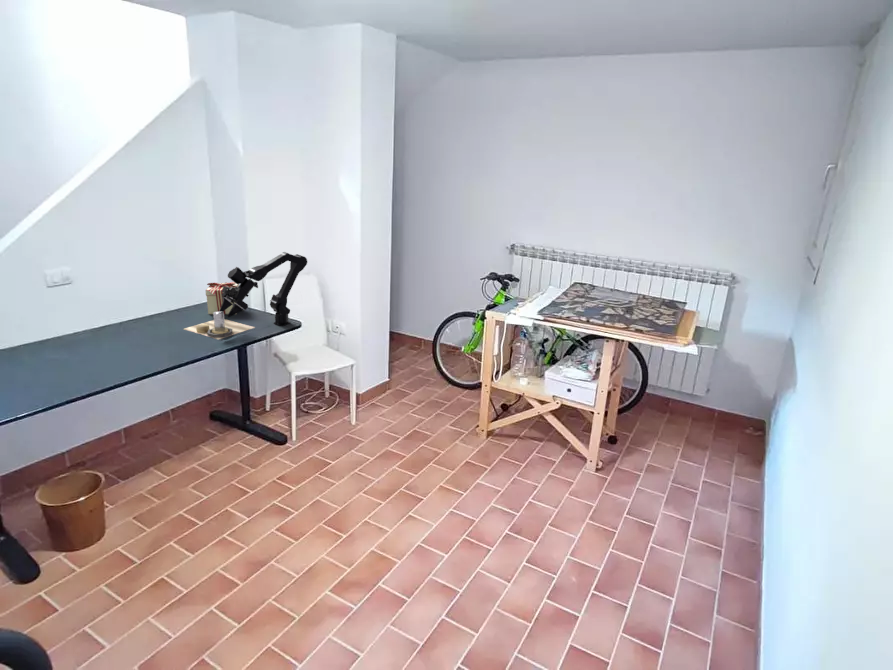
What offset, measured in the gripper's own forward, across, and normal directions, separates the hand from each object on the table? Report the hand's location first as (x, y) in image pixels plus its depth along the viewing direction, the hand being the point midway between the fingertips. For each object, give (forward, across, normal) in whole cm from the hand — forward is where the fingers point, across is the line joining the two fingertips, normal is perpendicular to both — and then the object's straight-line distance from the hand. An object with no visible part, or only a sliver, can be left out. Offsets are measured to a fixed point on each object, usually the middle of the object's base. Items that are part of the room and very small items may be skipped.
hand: (224, 314), depth 275 cm
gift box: (-3, -35, +18) cm, 39 cm away
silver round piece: (+9, 0, +5) cm, 10 cm away
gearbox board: (+7, -8, +8) cm, 13 cm away
